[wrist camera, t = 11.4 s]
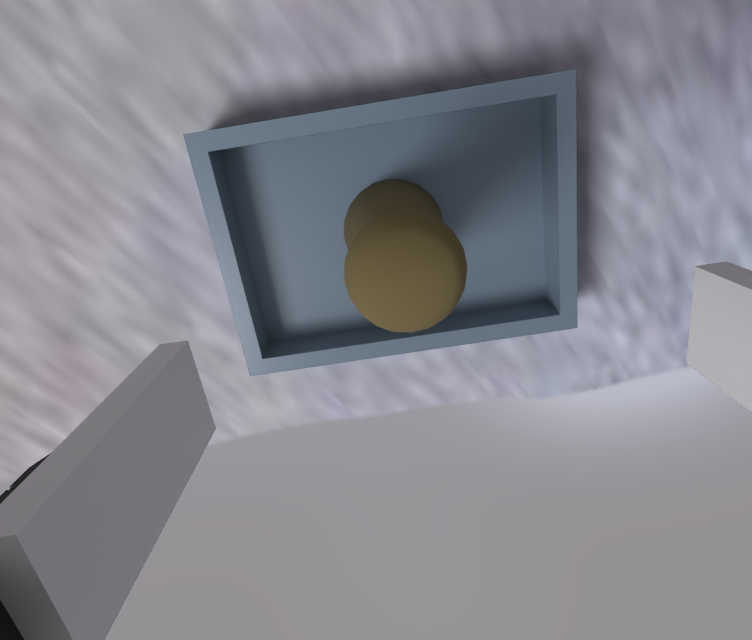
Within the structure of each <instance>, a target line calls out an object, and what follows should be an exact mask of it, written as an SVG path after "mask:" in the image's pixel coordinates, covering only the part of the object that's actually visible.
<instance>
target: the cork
mask: <svg viewBox="0 0 752 640" xmlns="http://www.w3.org/2000/svg"><path fill="white" fill-rule="evenodd" d="M344 239H345V242H346V245H347V249H348V252H347V255H346V258H345V267H344V282H345V285H346V288H347V291H348V295H349V298H350V299H351V301H352V302H353V304H354V305H355V306H356V308H357V309H358V311H359V312H360V313H361V315H362V316H364V317H365V318H366V319H368V320H369V321H370V322H372V323H373V324H374V325H376V326H378V327H381V328H384V329H386V330H389V331H392V332H407V333H412V332H416V331H420V330H424V329H428V328H430V327H432V326H434V325H435V324H437V323H439V322H440V321H442V320H444V319H445V318H446V317H447V316H448V315H449V314H450V313H451V312H452V310H453V309H454V308H455V307H456V306H457V305H458V302H459V300H460V298H461V296H462V294H463V292H464V289H465V284H466V276H467V268H468V266H467V262H466V257H465V252H464V248H463V246H462V245H461V243H460V241H459V240H458V238H457V236H456V235H455V233H454V231H453V230H452V229H450V228H449V227H448V226H447V225H446V224H444V223H443V220H442V215H441V211H440V208H439V207H438V205H437V203H436V202H435V200H434V198H433V197H432V195H430V194H429V193H428V192H427V191H426V190H424V189H423V188H422V187H421V186H420V185H417V184H414V183H412V182H409V181H407V180H400V179H387V180H383V181H380V182H376V183H373V184H371V185H370V186H368V187H367V188H365V189H364V190H363V191H361V192H360V193H359V194H358V195H357V196H356V198H355V199H354V200H353V202H352V203H351V204H350V206H349V208H348V211H347V214H346V217H345V220H344Z"/></svg>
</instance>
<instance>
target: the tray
mask: <svg viewBox="0 0 752 640" xmlns="http://www.w3.org/2000/svg"><path fill="white" fill-rule="evenodd" d="M183 135H184V139H185V142H186V146H187V150H188V153H189V157H190V161H191V164H192V168H193V171H194V175H195V179H196V182H197V186H198V189H199V193H200V197H201V200H202V204H203V208H204V211H205V215H206V218H207V222H208V226H209V229H210V233H211V236H212V240H213V244H214V247H215V251H216V255H217V258H218V262H219V265H220V269H221V273H222V276H223V280H224V283H225V287H226V291H227V294H228V298H229V301H230V305H231V309H232V312H233V316H234V320H235V323H236V327H237V330H238V334H239V338H240V341H241V345H242V348H243V352H244V356H245V359H246V363H247V367H248V370H249V374H250V376H255V375H261V374H268V373H275V372H282V371H288V370H295V369H302V368H309V367H316V366H322V365H329V364H336V363H343V362H349V361H356V360H363V359H370V358H376V357H383V356H390V355H397V354H403V353H410V352H417V351H424V350H431V349H437V348H444V347H451V346H458V345H464V344H471V343H478V342H485V341H491V340H498V339H505V338H512V337H519V336H525V335H532V334H539V333H546V332H552V331H559V330H566V329H573V328H577V110H576V69H573V70H567V71H561V72H555V73H549V74H543V75H537V76H531V77H525V78H519V79H513V80H507V81H501V82H495V83H489V84H483V85H477V86H471V87H465V88H459V89H453V90H447V91H441V92H435V93H429V94H423V95H417V96H411V97H405V98H399V99H393V100H387V101H381V102H375V103H369V104H363V105H357V106H351V107H345V108H339V109H333V110H327V111H321V112H315V113H309V114H303V115H297V116H291V117H285V118H279V119H273V120H267V121H261V122H255V123H249V124H243V125H237V126H231V127H225V128H219V129H213V130H207V131H201V132H195V133H189V134H183ZM387 179H400V180H407V181H409V182H412V183H414V184H417V185H420V186H421V187H422V188H423V189H424V190H426V191H427V192H428V193H429V194H430V195H432V197H433V198H434V200H435V202H436V203H437V205H438V207H439V208H440V211H441V215H442V220H443V223H444V224H446V225H447V226H448V227H449V228H450V229H452V230H453V231H454V233H455V235H456V236H457V238H458V240H459V241H460V243H461V245H462V246H463V248H464V252H465V257H466V262H467V266H468V268H467V276H466V284H465V289H464V292H463V294H462V296H461V298H460V300H459V302H458V305H457V306H456V307H455V308H454V309H453V310H452V312H451V313H450V314H449V315H448V316H447V317H446V318H445V319H444V320H442V321H440V322H439V323H437V324H435V325H434V326H432V327H430V328H428V329H424V330H420V331H416V332H412V333H407V332H392V331H389V330H386V329H384V328H381V327H378V326H376V325H374V324H373V323H372V322H370V321H369V320H368V319H366V318H365V317H364V316H362V315H361V313H360V312H359V311H358V309H357V308H356V306H355V305H354V304H353V302H352V301H351V299H350V298H349V295H348V291H347V288H346V285H345V282H344V267H345V258H346V255H347V252H348V249H347V245H346V242H345V239H344V220H345V217H346V214H347V211H348V208H349V206H350V204H351V203H352V202H353V200H354V199H355V198H356V196H357V195H358V194H359V193H360V192H361V191H363V190H364V189H365V188H367V187H368V186H370V185H371V184H373V183H376V182H380V181H383V180H387Z"/></svg>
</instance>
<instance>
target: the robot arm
mask: <svg viewBox="0 0 752 640" xmlns="http://www.w3.org/2000/svg"><path fill="white" fill-rule="evenodd" d="M687 365H689V366H690V367H691V368H693V369H694V370H696V371H697V372H698V373H700V374H701V375H702V376H704V377H705V378H706V379H708V380H709V381H711V382H712V383H713V384H714V385H716V386H717V387H719V388H720V389H721V390H723V391H724V392H725V393H727V394H728V395H729V396H731V397H732V398H734V399H735V400H736V401H738V402H739V403H740V404H742V405H743V406H745V407H746V408H747V409H748V410H750V411H751V412H752V271H750V270H748V269H745V268H742V267H740V266H737V265H734V264H731V263H729V262H720V263H714V264H707V265H700V266H695V272H694V284H693V295H692V307H691V318H690V330H689V342H688V353H687ZM215 429H216V427H215V424H214V421H213V418H212V415H211V411H210V408H209V405H208V402H207V399H206V396H205V393H204V390H203V386H202V383H201V380H200V377H199V374H198V371H197V368H196V365H195V361H194V358H193V355H192V352H191V349H190V346H189V343H188V340H187V341H181V342H174V343H167V344H160V345H159V346H158V347H157V348H156V349H155V350H154V351H153V352H152V353H151V354H150V355H149V356H148V357H147V358H146V359H145V360H144V361H143V362H142V363H141V364H140V365H139V366H138V367H137V368H136V369H135V370H134V371H133V372H132V373H131V374H130V375H129V376H128V377H127V378H126V379H125V380H124V381H123V382H122V383H121V384H120V385H119V386H118V387H117V388H116V389H115V390H114V391H113V392H112V393H111V394H110V395H109V396H108V397H107V398H106V399H105V400H104V401H103V402H102V403H101V404H100V405H99V406H98V407H97V408H96V409H95V410H94V411H93V412H92V413H91V414H90V415H89V416H88V417H87V418H86V419H85V420H84V421H83V422H82V423H81V424H80V425H79V426H78V427H77V428H76V429H75V430H74V431H73V432H72V433H71V434H70V435H69V436H68V437H67V438H66V439H65V440H64V441H63V442H62V443H61V444H60V445H59V446H58V447H57V448H56V449H55V450H54V451H53V452H52V453H50V454H49V455H47V456H46V457H44V458H43V459H41V460H40V461H38V462H37V463H35V464H34V465H32V466H31V467H29V468H28V469H27V470H26V471H25V472H24V473H23V474H22V475H21V476H20V477H19V478H18V479H17V480H16V481H15V482H14V483H13V484H12V485H11V486H10V490H6V491H5V492H4V493H3V494H2V495H1V496H0V640H105V638H106V636H107V634H108V632H109V630H110V628H111V626H112V624H113V622H114V620H115V619H116V617H117V615H118V613H119V611H120V609H121V607H122V605H123V603H124V601H125V600H126V598H127V596H128V594H129V592H130V590H131V588H132V587H133V585H134V583H135V581H136V579H137V577H138V575H139V573H140V571H141V569H142V567H143V565H144V564H145V562H146V560H147V558H148V556H149V554H150V552H151V551H152V549H153V546H154V545H155V543H156V541H157V539H158V537H159V535H160V533H161V532H162V530H163V528H164V526H165V524H166V522H167V520H168V518H169V516H170V514H171V512H172V511H173V509H174V507H175V505H176V503H177V501H178V499H179V497H180V495H181V494H182V491H183V490H184V488H185V486H186V484H187V482H188V480H189V478H190V477H191V475H192V473H193V471H194V469H195V467H196V465H197V463H198V461H199V460H200V457H201V456H202V454H203V452H204V450H205V448H206V446H207V444H208V442H209V441H210V439H211V437H212V435H213V433H214V431H215Z"/></svg>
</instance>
